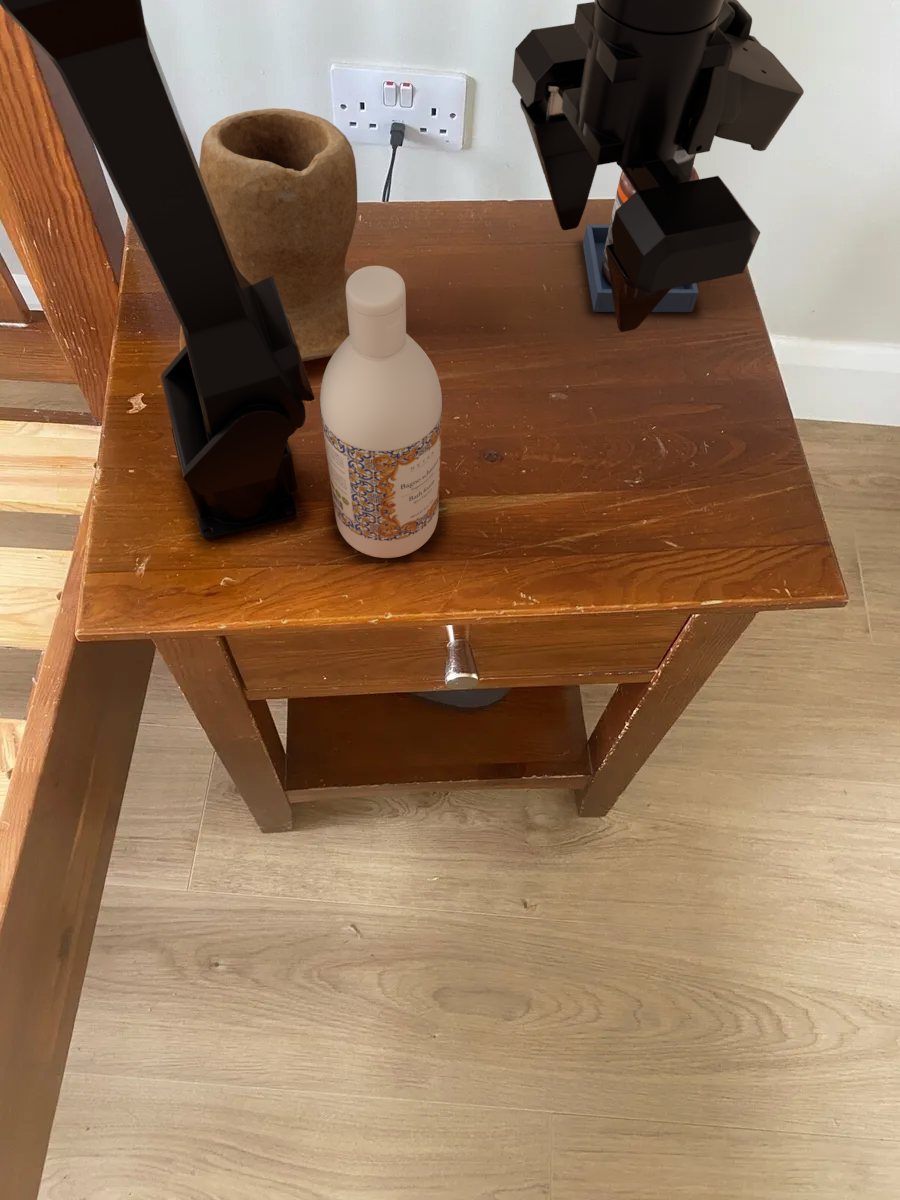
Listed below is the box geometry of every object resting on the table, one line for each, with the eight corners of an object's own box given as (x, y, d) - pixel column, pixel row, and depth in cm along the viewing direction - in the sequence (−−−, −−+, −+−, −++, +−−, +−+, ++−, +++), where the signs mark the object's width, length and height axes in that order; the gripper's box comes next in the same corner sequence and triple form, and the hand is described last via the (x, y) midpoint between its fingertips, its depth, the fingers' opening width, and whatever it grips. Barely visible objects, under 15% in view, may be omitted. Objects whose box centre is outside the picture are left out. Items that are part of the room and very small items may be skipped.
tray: (593, 312, 71) (597, 292, 69) (582, 244, 75) (586, 224, 73) (692, 312, 71) (698, 292, 69) (676, 245, 75) (682, 224, 73)
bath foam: (383, 580, 58) (368, 359, 40) (315, 516, 60) (273, 280, 43) (459, 521, 60) (476, 288, 43) (391, 461, 63) (381, 217, 45)
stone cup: (362, 259, 73) (350, 76, 60) (391, 364, 67) (385, 188, 54) (175, 285, 71) (120, 100, 58) (189, 395, 65) (132, 219, 52)
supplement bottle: (663, 247, 74) (702, 117, 64) (679, 297, 71) (722, 169, 61) (593, 250, 74) (621, 119, 64) (606, 301, 71) (638, 172, 61)
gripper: (922, 90, 37) (787, 358, 51) (724, -116, 46) (653, 161, 60) (685, 132, 35) (610, 399, 49) (523, -91, 44) (498, 189, 58)
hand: (597, 276), depth 54 cm, fingers open, 9 cm apart
